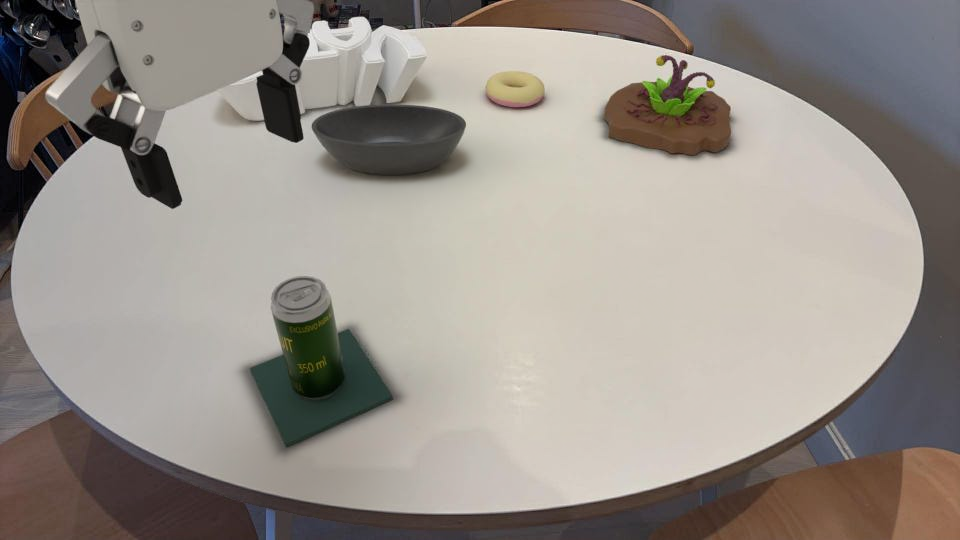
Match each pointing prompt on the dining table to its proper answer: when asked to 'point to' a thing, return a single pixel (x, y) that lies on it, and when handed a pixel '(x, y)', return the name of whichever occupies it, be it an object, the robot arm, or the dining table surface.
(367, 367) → the front mat
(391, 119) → the bowl
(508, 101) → the donut
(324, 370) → the beer can
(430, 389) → the dining table surface
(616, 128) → the plant
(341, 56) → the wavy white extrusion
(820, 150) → the dining table surface
